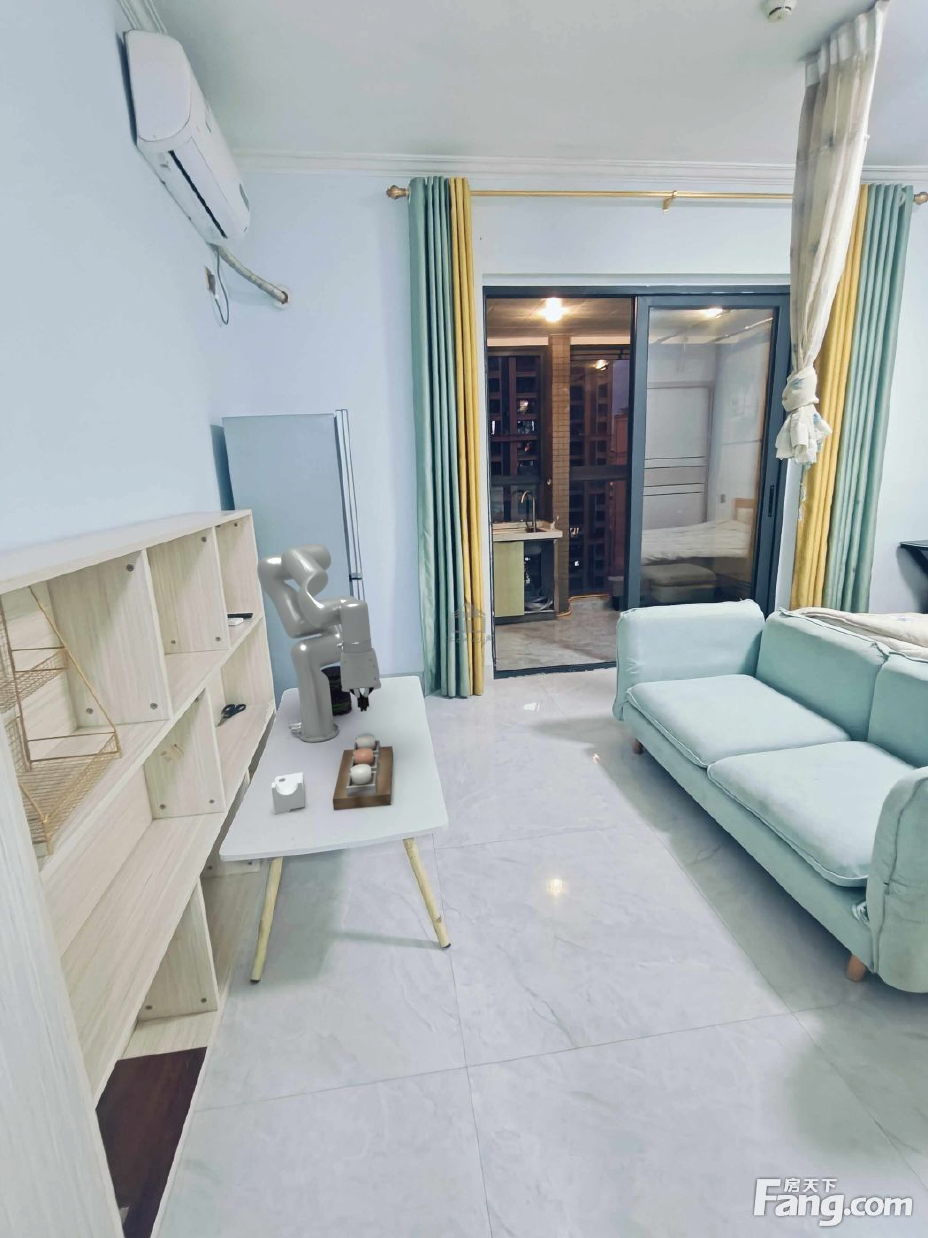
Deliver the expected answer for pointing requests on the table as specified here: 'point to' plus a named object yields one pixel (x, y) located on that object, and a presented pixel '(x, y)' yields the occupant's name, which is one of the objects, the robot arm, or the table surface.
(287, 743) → the table surface
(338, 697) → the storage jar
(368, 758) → the middle button
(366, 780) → the near button
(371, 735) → the far button
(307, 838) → the table surface
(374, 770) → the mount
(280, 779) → the bracket
